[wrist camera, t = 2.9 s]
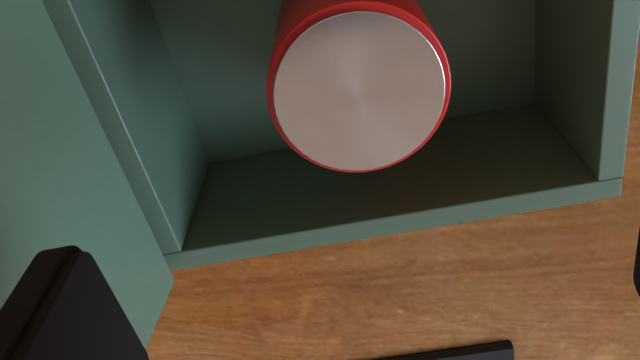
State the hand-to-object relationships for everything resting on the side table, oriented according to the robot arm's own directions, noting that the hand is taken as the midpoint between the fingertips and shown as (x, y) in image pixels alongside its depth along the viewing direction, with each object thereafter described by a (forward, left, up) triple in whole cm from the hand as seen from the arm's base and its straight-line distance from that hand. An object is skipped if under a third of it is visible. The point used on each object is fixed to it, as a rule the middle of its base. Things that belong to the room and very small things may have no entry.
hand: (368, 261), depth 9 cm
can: (0, 0, -14) cm, 14 cm away
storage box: (0, 0, -14) cm, 14 cm away
